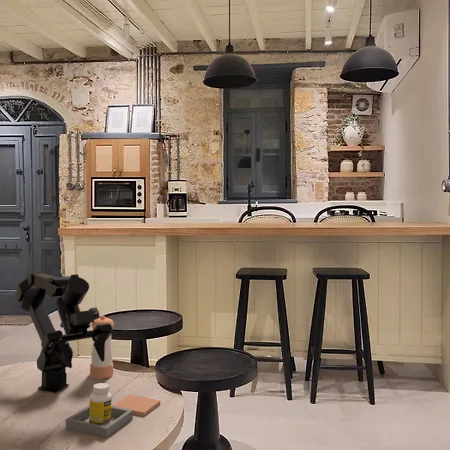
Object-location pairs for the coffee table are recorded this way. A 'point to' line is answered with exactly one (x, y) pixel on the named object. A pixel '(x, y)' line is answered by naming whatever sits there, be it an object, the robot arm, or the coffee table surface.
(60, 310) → the robot arm
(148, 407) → the coaster
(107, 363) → the pepper shaker
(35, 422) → the coffee table surface
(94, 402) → the supplement bottle
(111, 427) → the grey square frame
